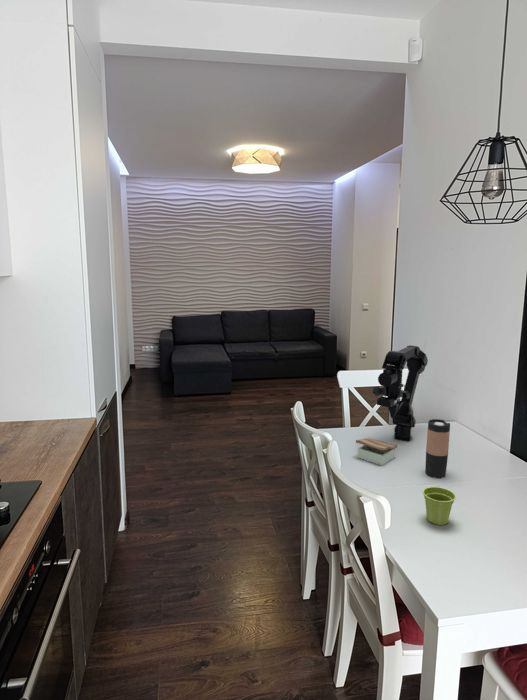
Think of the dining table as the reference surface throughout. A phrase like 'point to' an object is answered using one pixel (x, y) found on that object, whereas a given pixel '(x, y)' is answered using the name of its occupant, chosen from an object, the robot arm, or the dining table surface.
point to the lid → (376, 444)
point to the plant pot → (438, 504)
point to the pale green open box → (376, 454)
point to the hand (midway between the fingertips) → (392, 417)
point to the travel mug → (437, 448)
